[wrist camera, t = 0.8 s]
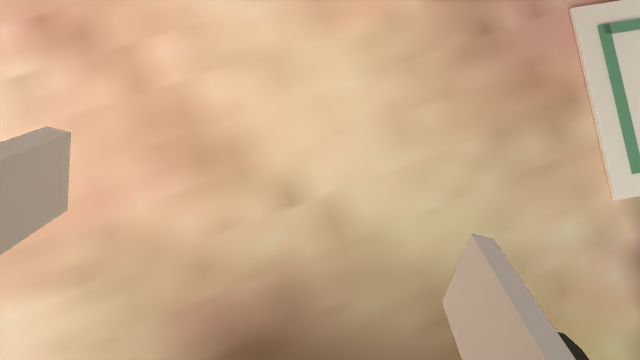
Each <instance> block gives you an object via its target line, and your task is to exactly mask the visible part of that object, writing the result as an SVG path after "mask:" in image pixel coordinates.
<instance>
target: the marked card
mask: <svg viewBox="0 0 640 360" xmlns="http://www.w3.org/2000/svg"><path fill="white" fill-rule="evenodd" d="M569 12H570V16H571V21H572V25H573V30H574V34H575V38H576V43H577V47H578V52H579V56H580V60H581V65H582V69H583V74H584V78H585V82H586V87H587V91H588V96H589V100H590V104H591V109H592V113H593V117H594V122H595V126H596V131H597V135H598V139H599V144H600V148H601V153H602V157H603V161H604V166H605V170H606V175H607V179H608V183H609V188H610V192H611V197H612V201H616V200H621V199H627V198H633V197H638V196H640V0H620V1H614V2H607V3H601V4H594V5H587V6H581V7H574V8H571V9H569Z"/></svg>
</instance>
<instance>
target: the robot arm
mask: <svg viewBox="0 0 640 360" xmlns="http://www.w3.org/2000/svg"><path fill="white" fill-rule="evenodd" d="M70 138H71V132H67V131H63V130H59V129H55V128H51V127H44V128H41V129H38V130H35V131H32V132H29V133H26V134H23V135H20V136H18V137H15V138H12V139H9V140H6V141H3V142H0V255H1V254H2V253H4V252H5V251H7V250H8V249H10V248H11V247H13V246H14V245H16V244H17V243H19V242H20V241H22V240H23V239H25V238H26V237H28V236H29V235H31V234H32V233H34V232H35V231H37V230H38V229H40V228H41V227H43V226H44V225H46V224H47V223H49V222H50V221H52V220H53V219H55V218H56V217H58V216H59V215H61V214H62V213H64V212H65V211H67V207H68V184H69V161H70ZM442 304H443V307H444V309H445V312H446V315H447V318H448V321H449V324H450V327H451V330H452V333H453V336H454V339H455V341H456V344H457V347H458V350H459V353H460V356H461V359H462V360H589V359H588V357H587V356H586V355H585V353H584V352H583V351H582V349H580V348H579V347H578V346H577V345H576V344H575V343H574V342H573V341H572V340H571V339H569V338H568V337H567V336H566V335H565V334H563V333H559V332H557V331H556V330H555V328H554V327H553V325H552V324H551V323H550V321H549V320H548V318H547V317H546V315H545V314H544V312H543V311H542V309H541V308H540V306H539V305H538V304H537V302H536V301H535V299H534V298H533V296H532V295H531V293H530V292H529V290H528V289H527V287H526V286H525V284H524V283H523V282H522V280H521V279H520V277H519V276H518V274H517V273H516V271H515V270H514V268H513V267H512V265H511V264H510V263H509V261H508V260H507V258H506V257H505V255H504V254H503V252H502V251H501V249H500V248H499V246H498V245H497V243H496V242H495V241H494V239H491V238H487V237H483V236H479V235H475V234H471V235H470V237H469V239H468V242H467V244H466V247H465V249H464V251H463V254H462V256H461V258H460V261H459V263H458V266H457V268H456V270H455V273H454V275H453V278H452V280H451V282H450V285H449V287H448V290H447V292H446V294H445V297H444V299H443V302H442Z"/></svg>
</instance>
